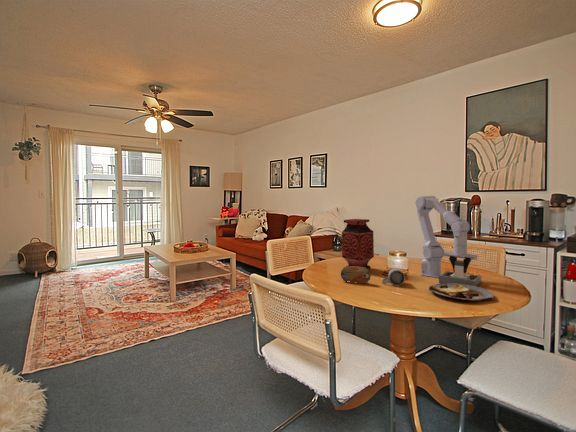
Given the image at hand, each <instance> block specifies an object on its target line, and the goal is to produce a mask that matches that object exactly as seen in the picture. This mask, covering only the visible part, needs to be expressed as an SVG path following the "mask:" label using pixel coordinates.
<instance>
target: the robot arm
mask: <svg viewBox="0 0 576 432" xmlns="http://www.w3.org/2000/svg"><path fill="white" fill-rule="evenodd" d="M414 204H415V207H416V212H417V214H416V215H417V217H418V221H419V223H420V228H421V231H422V234H423V235H422V236H423V238H424V244H423V246H422V249H423V251H422V254H423V257H424V258H422V260H421V265H420V266H421V271H420V273H421V274H420V275H421V276H426V277H431V278H436V279H437V278H438V279H439V275H441V274H442V260H443V258H444V257H445V258H446V257H447V258H448V261H449V262H450V263H451V266H452V270H453V271H452V272H455V261H456V260H458V259H459V258H460V259H463V260H462V261H463V262H464V273H466V274H467V272H468V271H467V270H468V267H469V265H470V263H471V262H472V260H475V261H476V260H478V255H477V254H471V253H468V232H469V231H470V230H471V224H470V222H468V220H463V219H462V218H461V217H459V216H458V215H457V214H456V212H455V211H453V210H448V209H447V208H446V207H445V206H444V205H443V204H441V202H440V201H439V198H437V197H436V196H435V195H419V196H418V197H417V198H416V200H415V203H414ZM433 209H434V211H436V212H437V213H439V214H440V215H441V216H442V220H444V222H446V223H447V224H448V225H449V226H450V227H451V228H450V229H451V232H452V233H453V252H451V251H450V252H448V251H446V252H445V249H444V248H443V247H442V244H441V243H440V242H439V241H437V238H436V236H435V232H434V229H433V225H432V221H431V218H430V215H429V213H430V212H431V211H433Z"/></svg>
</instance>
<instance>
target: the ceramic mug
mask: <svg viewBox="0 0 576 432" xmlns="http://www.w3.org/2000/svg"><path fill="white" fill-rule="evenodd" d="M405 281H406V276H405V273H404V272H403V271H402V269H401V270H400V269H399V268H392V269H390V270H389V271H388V275H387V276H386V277H384V278H382V280H381V282H382V284H384V285H385V284H388V283H390V284H391V285H393V286H396V287H398V286H399V287H400V286H402V285H403V284H404V283H405Z"/></svg>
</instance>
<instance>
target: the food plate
mask: <svg viewBox="0 0 576 432" xmlns="http://www.w3.org/2000/svg"><path fill="white" fill-rule="evenodd" d="M428 290H429V291H430V292H432V293H434V294H437V295H438V296H442V297H445V298H449V299H455V300H460V301H461V300H462V301H465V300H466V301H468V302H469V301H470V302H481V301H483V300H484V301H485V300H487V299H490V298H491V299H493V298H495V295H494V294H493V292H492V291H490V290H488V289H486V288H483V287H481V286H480V287H479V286H477V287H476V286H471V285H466V284H455V283H436V284H431V285H430V286H429V287H428Z"/></svg>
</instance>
